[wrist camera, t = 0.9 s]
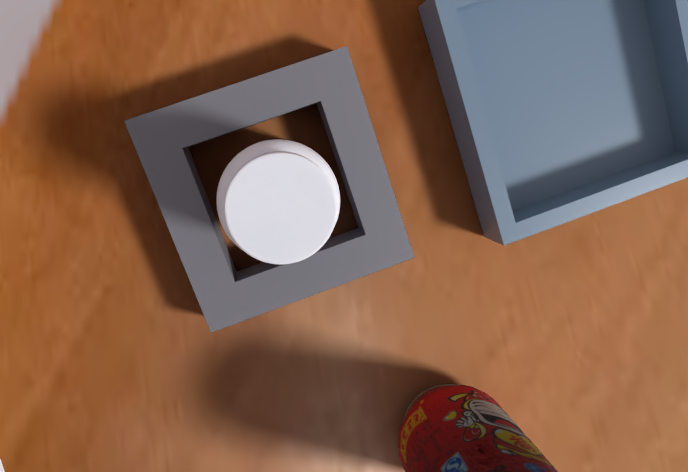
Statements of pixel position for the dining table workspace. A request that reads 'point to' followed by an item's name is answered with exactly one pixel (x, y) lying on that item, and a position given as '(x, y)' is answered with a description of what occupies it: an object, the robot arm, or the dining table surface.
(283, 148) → the pill bottle
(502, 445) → the soda can
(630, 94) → the parts tray
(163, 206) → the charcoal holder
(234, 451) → the dining table surface
